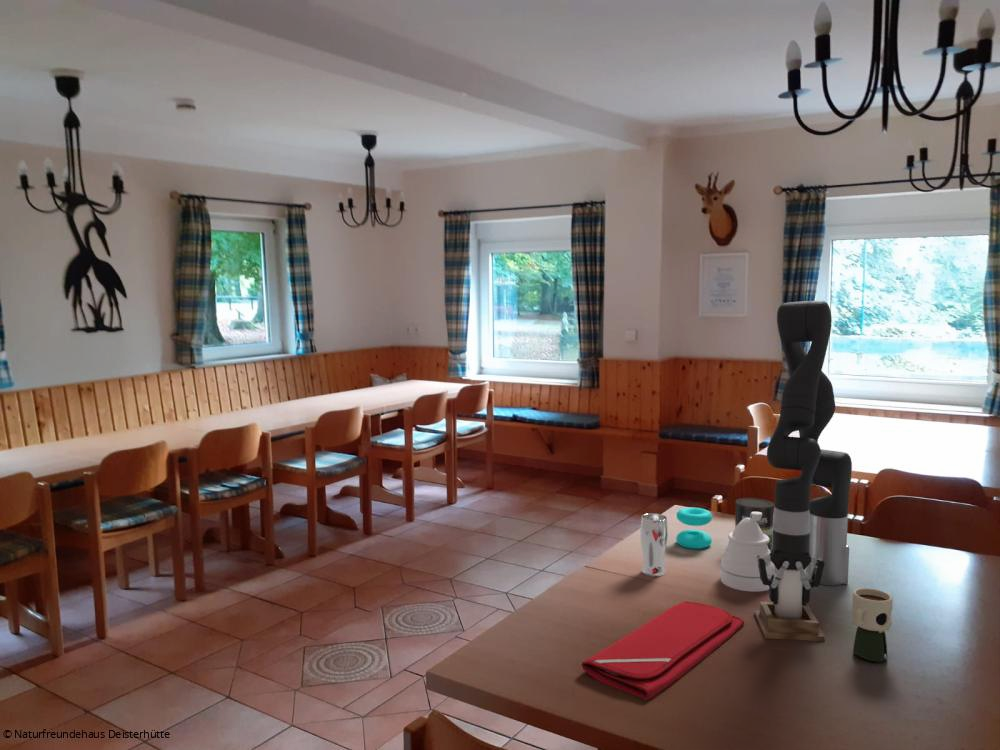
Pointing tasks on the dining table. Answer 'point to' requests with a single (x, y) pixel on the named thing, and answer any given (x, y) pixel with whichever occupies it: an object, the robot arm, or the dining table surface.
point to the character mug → (871, 622)
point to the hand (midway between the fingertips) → (788, 603)
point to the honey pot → (745, 556)
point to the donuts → (694, 537)
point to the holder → (788, 624)
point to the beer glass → (653, 543)
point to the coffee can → (756, 505)
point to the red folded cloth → (662, 649)
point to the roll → (789, 596)
